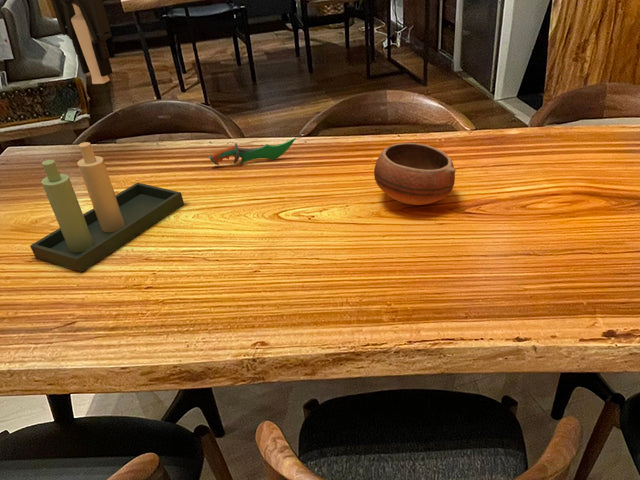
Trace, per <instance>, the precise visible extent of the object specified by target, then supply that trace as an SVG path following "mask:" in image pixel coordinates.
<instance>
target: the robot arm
mask: <svg viewBox="0 0 640 480" xmlns="http://www.w3.org/2000/svg"><path fill="white" fill-rule="evenodd" d="M50 2H51V6H52V8H53V12H54V14H55V18H56V21H57V24H58V26H59V30H60V32H61V34H62V35H63V36H67V37H68V38H69V40H71V43H72V46H73V49H74V52H75V54H76V56H77V58H78V61H79V64H80V67H81V70H82V73H83V74H85V75H87V74H89V73H90V70H89V68H88V65H87V62H86V60H85V57H84V54H83V51H82V49H81V46H80V43H79V41H78V38H77V35H76V32H75V30H74V27H73V24H72V22H71V18H72V17H73V16H74V15H75V10H74V7H73V5H72V3H75V4H76V5H77V6H78V7H79V8H80V11H81V13H82V15H83V17H84V20H85V21H86V24H87V26H88V29H89V31H90V33H91V35H92V38H93V41H91V42H92V43H91V44H92V47H93V50H94V54H95V57H96V60H97V64H98V67H99V70H100V74H101V76H103V77H104V76H110V75H111V74H113V69H112V65H111V61H110V53H109V50H108V45H107V42H106V41H107V40H108V39H110V38H112V37H113V34H112V31H111V30H112V29H111V27H110V23H109V18H108V16H107V12H106V8H105V5H104V1H103V0H50Z"/></svg>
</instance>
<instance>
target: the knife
mask: <svg viewBox="0 0 640 480" xmlns="http://www.w3.org/2000/svg"><path fill="white" fill-rule="evenodd" d="M296 139H297V137H293V138H292V139H291V140H289V141H285V142H283V143H281V144H277V145H276V144H275V145H271V144H268V143H266V144H265V145H263V146H259V147H254V148H253V147H252V148H246V147H238V143H237V142H235V143H234V146H231V147H227V148H222V149H219V150H217V151H216V152H213V153H212V154H211V155H209V156H208V159H209V161H211V162H212V163H213V164H214V165H216V166H217V165H218V166H219V165H220V163H219V162H221V163H222V162H223V160H224V159H226V160H229V159H230V157H231V156H232V157H234V159H233V164H236V163H237V162H238V161H239V159H240V158H241V159H240V164H243V163H246V162H249V161H253V160H259V159H260V160H261V159H266V160H272V161H274V160H277V159H279V158H280V157H282V156H283V155H284V154H285V153H286V152H287V151H288V150H289V149H290V147H291V146H292V145H293V143H294V142H295V141H296Z"/></svg>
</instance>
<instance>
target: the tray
mask: <svg viewBox="0 0 640 480" xmlns="http://www.w3.org/2000/svg"><path fill="white" fill-rule="evenodd" d="M115 196H116V199H117V202H118V205H119V208H120V211H121V214H122V217H123V220H124V223H125V226H124V227H122V228H121V229H119V230H118V231H115V232H104V231H102V230H101V227H100V224H99V222H98V219H97V216H96V213H95V211H94V208H93V207H92V208H91V209H90V210H88V211H86V212H85V213H83V216H84V218H85V221H86V224H87V226H88V229H89V231H90V234H91V237H92V239H93V242H94V246H92V247H91V248H89V249H88V250H86V251H85V252H80V253H74V252H71V251H70V250H69V248H68V246H67V243H66V241H65V239H64V236H63V234H62V231H61V229H60V227H59V228H57V229H55V230H54V231H52V232H50V233H49V234H47V235H45V236H43V237H42V238H40V239H39V240H37V241H35V242H33V243H32V244H30V245H29V247H30V250H31V251H32V254H33V255H34V258H35V259H36V260H37V259H38V260H41V261H44V262H48V263H51V264H54V265H56V266H61V267H63V268H67V269H70V270H74V271H77V272H80V273H83V272H85V271H86V270H88V269H89V268H91V267H92V266H94V265H95V264H96V263H98V262H100V261H101V260H103V259H104V258H106V257H107V256H109V255H110V254H112V253H113V252H114V251H116V250H118V249H119V248H120V247H122V246H124V245H125V244H126V243H128V242H130V241H131V240H133V239H134V238H136V237H138V235H140V234H142V233H143V232H145V231H147V230H148V229H150V228H151V227H152V226H153V225H155V224H156V223H159V222H160V221H161V220H163V219H164V218H166V217H167V216H169V215H170V214H172V213H173V212H175V211H176V210H178V209H179V208H181V207H182V206H183V205H185V203H184V198H183V194H182V192H181V191H177V190H172V189H168V188H163V187H159V186H155V185H150V184H146V183H141V182H135V183H134V184H133V185H131V186H129V187H127V188H126V189H124V190H122V191H121V192H118V193H117V194H115Z"/></svg>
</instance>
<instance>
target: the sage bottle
mask: <svg viewBox="0 0 640 480" xmlns="http://www.w3.org/2000/svg"><path fill="white" fill-rule="evenodd" d="M41 165H42V167H43V170H44V172H45V175H46V176H45V177H44V178H42V180H41V181H40V182H41V185H42V188H43V189H44V192H45V195H46V197H47V200H48V202H49V205H50V207H51V209H52V212H53V214H54V217H55V219H56V222H57V225H58V226H59V228H60V229H61V231H62V234H63V236H64V239H65V241H66V243H67V246H68V248H69V250H70V251H71V252H74V253H80V252H85V251H86V250H88V249H89V248H91V247H92V246H94V242H93V239H92V237H91V234H90V231H89V229H88V226H87V224H86V221H85V218H84V216H83V214H84V213H83V211H82V208H81V205H80V203H79V200H78V197H77V195H76V192H75V189H74V187H73V184H72V182H71V179H70V176H69V175H68V174H65V173H60V171H59V169H58V166H57V163H56V161H55V160H54V159H46V160H44V161H42V162H41Z"/></svg>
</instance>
